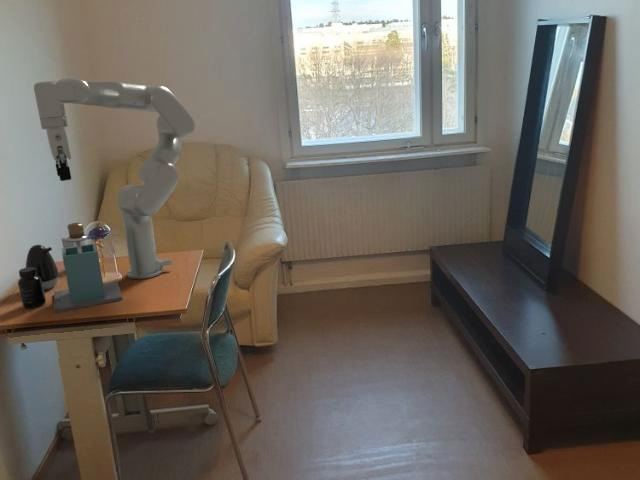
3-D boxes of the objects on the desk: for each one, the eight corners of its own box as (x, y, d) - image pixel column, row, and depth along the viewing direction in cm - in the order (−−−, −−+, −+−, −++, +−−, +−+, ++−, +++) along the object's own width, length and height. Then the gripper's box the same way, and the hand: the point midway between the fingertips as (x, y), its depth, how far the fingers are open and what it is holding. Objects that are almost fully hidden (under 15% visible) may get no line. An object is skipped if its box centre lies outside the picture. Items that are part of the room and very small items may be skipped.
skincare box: (88, 267, 238) (82, 236, 235) (78, 271, 235) (72, 239, 231) (76, 265, 241) (70, 234, 238) (66, 269, 238) (60, 238, 234)
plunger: (97, 283, 212) (86, 220, 206) (99, 290, 205) (88, 225, 199) (74, 287, 209) (62, 223, 203) (74, 295, 203) (62, 229, 197)
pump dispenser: (49, 293, 214) (41, 249, 210) (22, 293, 216) (13, 249, 212) (67, 282, 224) (59, 240, 219) (40, 282, 226) (32, 240, 221)
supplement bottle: (29, 301, 208) (21, 266, 205) (49, 300, 208) (42, 265, 204) (19, 309, 201) (11, 273, 198) (40, 308, 201) (33, 272, 198)
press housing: (117, 283, 219) (110, 238, 215) (122, 299, 204) (114, 251, 199) (54, 294, 212) (45, 248, 208) (55, 312, 197) (45, 262, 193)
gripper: (69, 123, 192) (80, 180, 197) (64, 119, 207) (74, 172, 212) (42, 126, 189) (53, 184, 194) (39, 122, 204) (49, 175, 209)
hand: (64, 177), depth 203 cm, fingers open, 9 cm apart
